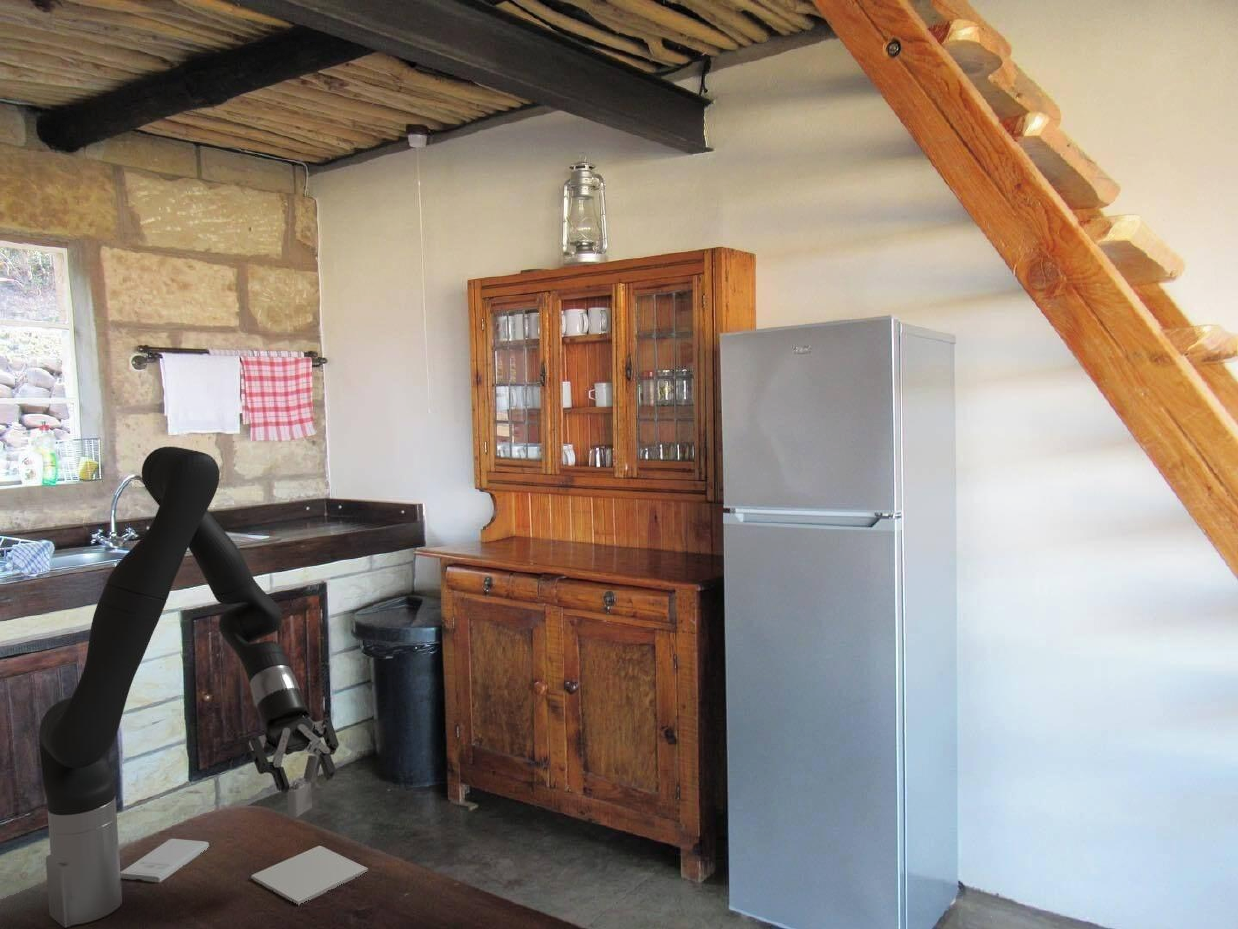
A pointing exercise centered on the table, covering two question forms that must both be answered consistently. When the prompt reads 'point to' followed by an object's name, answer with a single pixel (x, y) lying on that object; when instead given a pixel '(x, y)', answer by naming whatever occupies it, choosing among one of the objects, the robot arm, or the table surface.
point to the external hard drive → (164, 860)
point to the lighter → (303, 788)
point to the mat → (309, 874)
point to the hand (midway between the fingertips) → (308, 784)
